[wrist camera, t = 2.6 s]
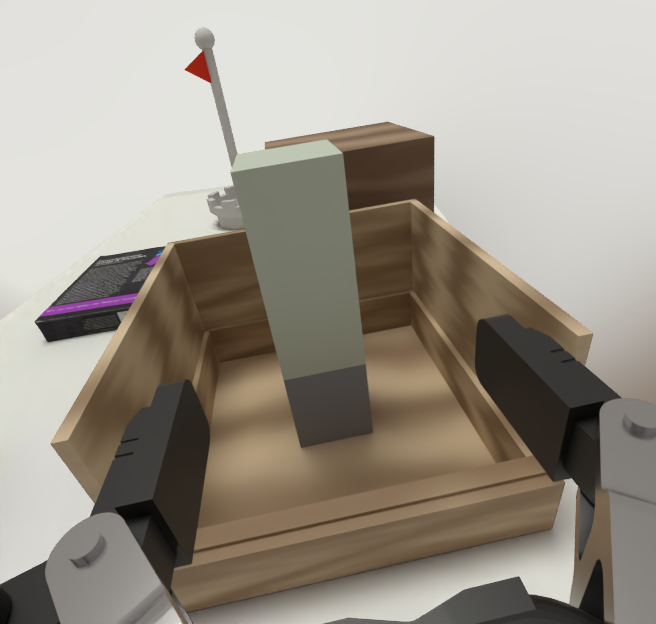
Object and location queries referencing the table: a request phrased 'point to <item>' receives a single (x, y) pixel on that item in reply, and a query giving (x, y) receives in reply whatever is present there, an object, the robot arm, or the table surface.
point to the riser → (380, 163)
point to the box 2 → (308, 283)
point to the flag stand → (207, 70)
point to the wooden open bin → (341, 455)
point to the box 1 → (99, 296)
